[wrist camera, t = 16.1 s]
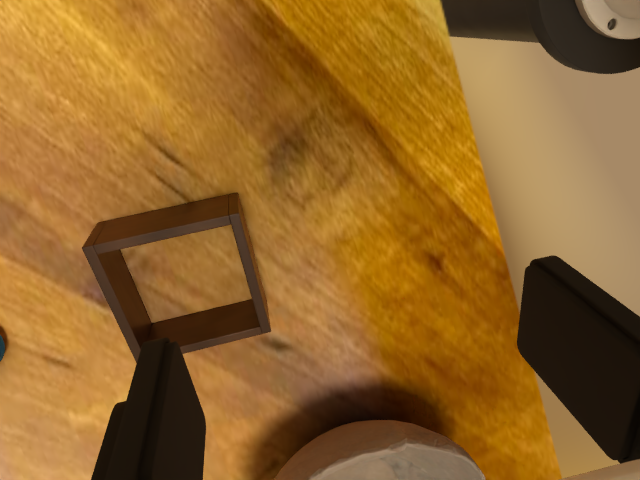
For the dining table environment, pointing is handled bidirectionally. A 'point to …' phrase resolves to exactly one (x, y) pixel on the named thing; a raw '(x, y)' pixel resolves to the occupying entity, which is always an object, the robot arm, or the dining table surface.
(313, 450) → the bowl
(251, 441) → the dining table surface
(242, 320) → the crate
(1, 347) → the beverage can
